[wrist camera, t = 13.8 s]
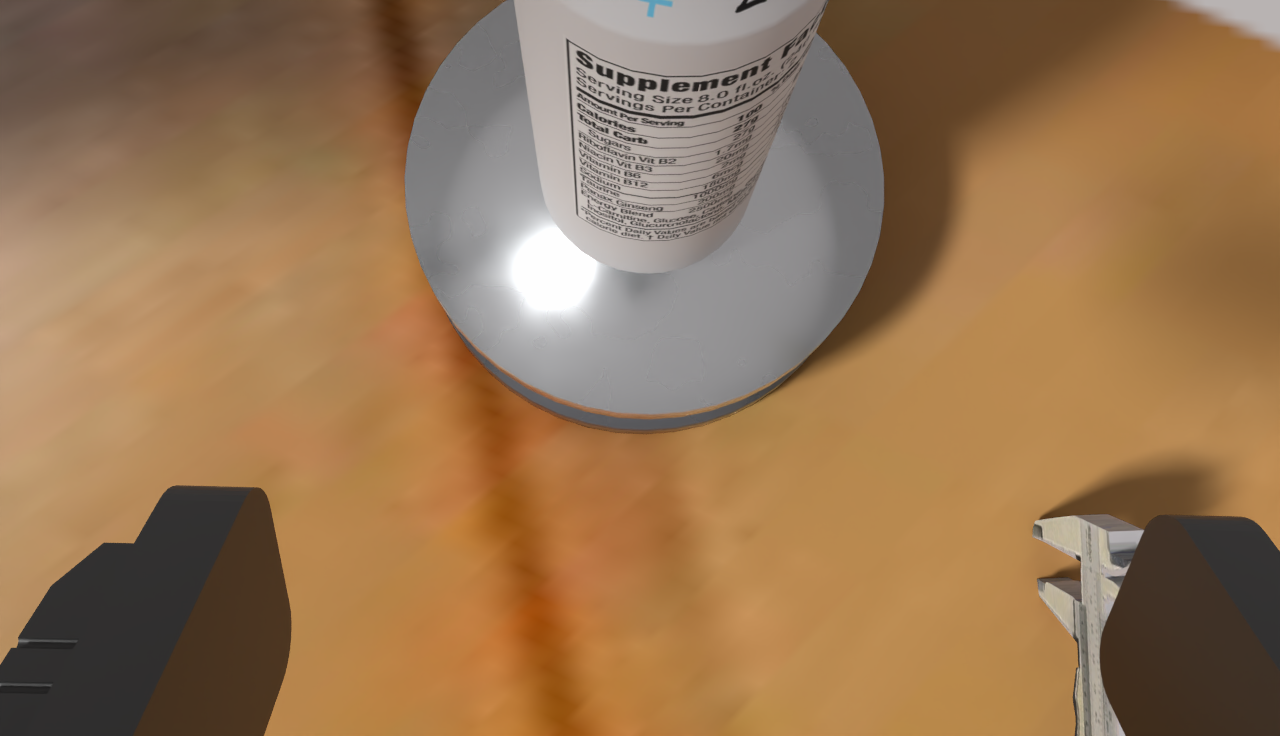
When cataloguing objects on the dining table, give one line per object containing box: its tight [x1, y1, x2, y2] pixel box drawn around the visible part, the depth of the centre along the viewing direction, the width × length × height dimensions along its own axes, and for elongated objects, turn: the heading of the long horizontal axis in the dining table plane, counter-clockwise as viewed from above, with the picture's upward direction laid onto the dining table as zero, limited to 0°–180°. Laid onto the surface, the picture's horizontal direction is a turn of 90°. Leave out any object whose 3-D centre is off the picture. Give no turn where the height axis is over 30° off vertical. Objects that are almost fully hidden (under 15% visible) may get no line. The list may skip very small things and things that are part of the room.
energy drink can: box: [514, 0, 828, 273], centre depth 23 cm, size 6×6×15 cm
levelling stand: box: [405, 0, 884, 434], centre depth 32 cm, size 14×14×4 cm
